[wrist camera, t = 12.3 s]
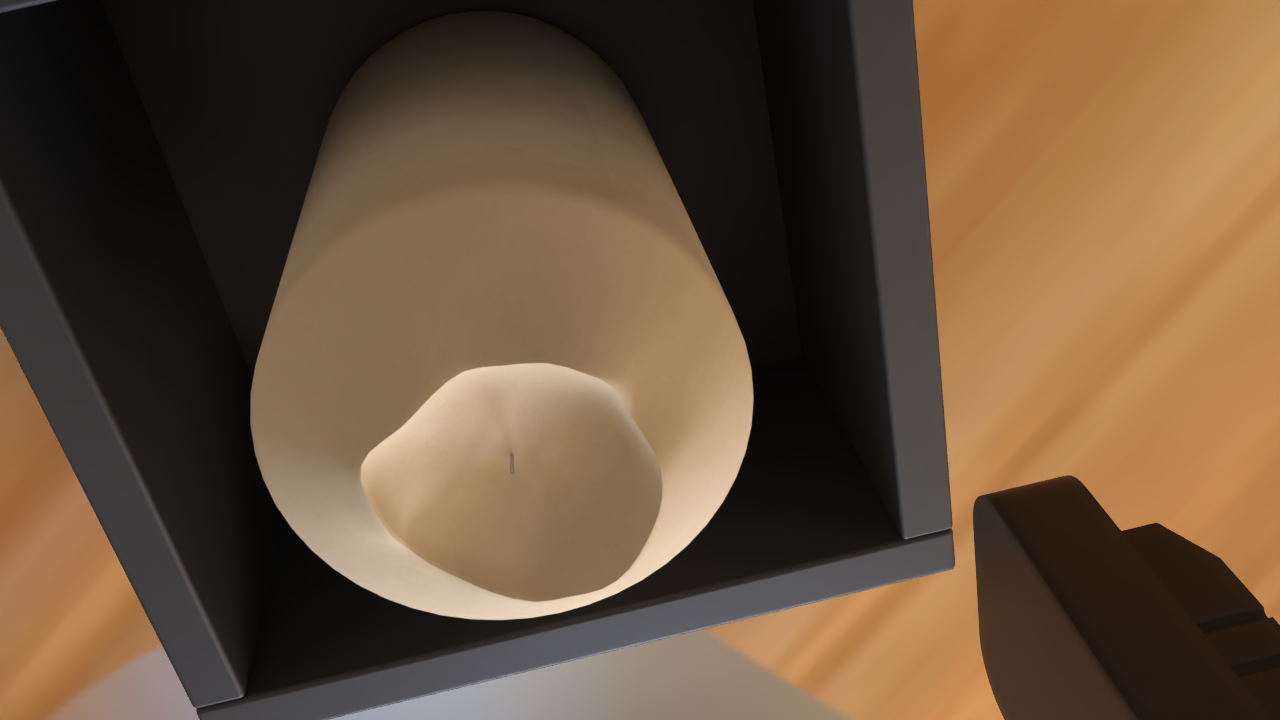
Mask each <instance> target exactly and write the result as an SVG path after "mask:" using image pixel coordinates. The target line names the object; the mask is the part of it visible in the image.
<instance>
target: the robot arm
mask: <svg viewBox="0 0 1280 720" xmlns="http://www.w3.org/2000/svg"><path fill="white" fill-rule="evenodd" d="M973 526H974V543H975V561H976V578H977V596H978V614H979V631H980V643H981V650H982V655H983V660H984V664H985V668H986V672H987V675H988V679H989V682H990V685H991V688H992V691H993V694H994V696H995V699H996V702H997V704H998V706H999V709H1000V711H1001V713H1002V715H1003V717H1004V719H1005V720H1280V625H1279V624H1278V623H1277V621H1276V620H1275V619H1274V618H1273V617H1272V618H1267V616H1266V614H1265V612H1264V607H1263V606H1262V605H1261V604H1260V602H1259V601H1258V600H1257V599H1256V598H1255V597H1254V596H1253V595H1252V593H1251V592H1250V591H1249V590H1248V589H1247V588H1246V587H1245V586H1244V584H1243V583H1242V582H1241V581H1240V580H1239V579H1238V578H1237V577H1236V576H1235V574H1234V573H1233V572H1232V571H1231V570H1230V569H1229V568H1228V567H1227V565H1226V564H1225V563H1224V562H1223V561H1222V560H1221V559H1220V558H1219V557H1217V556H1215V555H1213V554H1212V553H1210V552H1208V551H1206V550H1205V549H1203V548H1201V547H1199V546H1197V545H1196V544H1194V543H1192V542H1190V541H1189V540H1187V539H1185V538H1183V537H1181V536H1180V535H1178V534H1176V533H1174V532H1173V531H1171V530H1169V529H1167V528H1165V527H1164V526H1162V525H1160V524H1158V523H1153V524H1149V525H1145V526H1141V527H1137V528H1132V529H1128V530H1124V531H1121V530H1120V529H1119V528H1118V527H1117V525H1116V524H1115V523H1114V522H1113V520H1112V519H1111V518H1110V517H1109V515H1108V514H1107V513H1106V512H1105V510H1104V509H1103V508H1102V507H1101V506H1100V504H1099V503H1098V502H1097V501H1096V499H1095V498H1094V497H1093V496H1092V494H1091V493H1090V492H1089V491H1088V489H1087V488H1086V487H1085V486H1084V485H1083V484H1082V483H1081V481H1079V480H1078V479H1077V478H1075V477H1073V476H1071V475H1069V476H1062V477H1058V478H1054V479H1050V480H1045V481H1041V482H1037V483H1033V484H1028V485H1024V486H1020V487H1016V488H1011V489H1007V490H1003V491H999V492H995V493H990V494H986V495H982V496H979V497H978V498H977V499H976V501H975V504H974V510H973Z"/></svg>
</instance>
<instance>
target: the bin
mask: <svg viewBox="0 0 1280 720" xmlns="http://www.w3.org/2000/svg"><path fill="white" fill-rule="evenodd" d="M468 11H499V12H507V13H515V14H519V15H523V16H527V17H531V18H535V19H538V20H540V21H543V22H545V23H548V24H550V25H553V26H555V27H557V28H559V29H561V30H563V31H564V32H566V33H568V34H570V35H571V36H573V37H575V38H577V39H579V40H580V41H581V42H583V43H584V44H585V45H586V46H588V47H589V48H590V49H592V50H593V51H594V52H596V53H597V54H598V55H599V56H600V57H601V58H602V59H603V60H604V61H605V62H606V63H607V64H608V65H609V66H610V67H611V68H612V69H613V71H614V72H615V73H616V75H617V76H618V77H619V78H620V80H621V81H622V82H623V84H624V85H625V87H626V88H627V90H628V92H629V94H630V95H631V97H632V99H633V101H634V102H635V104H636V106H637V108H638V110H639V111H640V113H641V115H642V117H643V119H644V121H645V123H646V126H647V128H648V130H649V132H650V134H651V136H652V139H653V141H654V143H655V145H656V147H657V149H658V151H659V154H660V156H661V158H662V160H663V162H664V164H665V167H666V169H667V171H668V173H669V175H670V177H671V179H672V182H673V184H674V186H675V188H676V190H677V192H678V195H679V197H680V199H681V201H682V203H683V205H684V207H685V210H686V212H687V214H688V216H689V218H690V220H691V223H692V225H693V227H694V229H695V231H696V233H697V235H698V238H699V240H700V242H701V244H702V246H703V248H704V251H705V253H706V255H707V257H708V259H709V261H710V264H711V266H712V268H713V270H714V272H715V274H716V276H717V279H718V281H719V283H720V285H721V287H722V289H723V292H724V294H725V296H726V298H727V300H728V302H729V305H730V307H731V309H732V311H733V314H734V316H735V318H736V321H737V323H738V326H739V328H740V331H741V333H742V336H743V338H744V341H745V344H746V348H747V353H748V357H749V361H750V366H751V370H752V383H753V396H754V400H753V414H752V426H751V430H750V435H749V439H748V444H747V449H746V453H745V455H744V458H743V461H742V463H741V466H740V469H739V471H738V474H737V477H736V479H735V481H734V483H733V484H732V486H731V488H730V490H729V492H728V494H727V496H726V497H725V499H724V501H723V503H722V504H721V506H720V507H719V508H718V510H717V511H716V513H715V514H714V515H713V517H712V518H711V519H710V521H709V522H708V524H707V525H706V526H705V527H704V528H703V529H702V530H701V531H700V533H699V534H698V535H697V536H696V537H695V538H694V539H693V540H692V541H691V542H690V543H689V545H688V546H686V547H685V548H684V549H683V550H682V551H681V552H679V553H678V554H677V555H676V556H675V557H674V558H672V559H671V560H670V561H669V562H668V563H667V564H665V565H664V566H662V567H661V568H659V569H658V570H656V571H655V572H653V573H652V574H650V575H649V576H647V577H646V578H645V579H643V580H641V581H639V582H638V583H636V584H634V585H632V586H630V587H628V588H626V589H624V590H622V591H621V592H619V593H617V594H614V595H612V596H609V597H607V598H604V599H602V600H599V601H597V602H594V603H592V604H589V605H586V606H583V607H579V608H575V609H572V610H568V611H565V612H561V613H556V614H551V615H545V616H539V617H534V618H524V619H510V620H479V619H465V618H458V617H450V616H443V615H438V614H434V613H430V612H426V611H422V610H418V609H413V608H410V607H408V606H405V605H402V604H399V603H397V602H394V601H391V600H388V599H386V598H383V597H381V596H379V595H377V594H375V593H373V592H371V591H369V590H367V589H365V588H363V587H361V586H359V585H357V584H356V583H354V582H353V581H351V580H350V579H348V578H347V577H345V576H344V575H342V574H341V573H339V572H337V571H336V570H334V569H333V568H332V567H331V566H330V565H328V564H327V563H326V562H325V561H324V560H322V559H321V558H320V557H319V556H318V555H317V554H315V553H314V552H313V551H312V550H311V549H310V548H309V547H308V546H307V545H306V544H305V542H304V541H303V540H302V539H301V538H300V537H299V536H298V535H297V534H296V533H295V531H294V530H293V529H292V528H291V526H290V525H289V524H288V522H287V521H286V519H285V518H284V516H283V515H282V513H281V512H280V510H279V509H278V507H277V506H276V504H275V502H274V500H273V498H272V496H271V494H270V492H269V490H268V488H267V486H266V484H265V482H264V480H263V477H262V474H261V470H260V467H259V464H258V461H257V458H256V455H255V450H254V444H253V437H252V431H251V424H250V410H251V389H252V383H253V377H254V371H255V365H256V361H257V358H258V354H259V351H260V347H261V344H262V341H263V337H264V334H265V331H266V327H267V324H268V320H269V317H270V314H271V310H272V307H273V304H274V300H275V297H276V294H277V290H278V287H279V284H280V280H281V277H282V274H283V270H284V267H285V264H286V260H287V257H288V254H289V250H290V247H291V244H292V240H293V237H294V234H295V230H296V227H297V224H298V220H299V217H300V214H301V210H302V207H303V204H304V200H305V197H306V194H307V190H308V187H309V184H310V180H311V177H312V174H313V170H314V167H315V163H316V160H317V157H318V153H319V150H320V147H321V144H322V140H323V137H324V134H325V131H326V128H327V125H328V122H329V120H330V117H331V114H332V112H333V109H334V107H335V105H336V103H337V101H338V99H339V97H340V95H341V93H342V91H343V89H344V88H345V86H346V85H347V84H348V82H349V81H350V79H351V78H352V76H353V75H354V73H355V72H356V71H357V70H358V69H359V68H360V67H361V65H362V64H363V63H364V62H365V61H366V60H367V59H368V58H369V57H370V56H371V55H372V54H373V53H375V52H376V51H377V50H378V49H379V48H381V47H382V46H383V45H384V44H386V43H387V42H388V41H390V40H391V39H393V38H394V37H396V36H398V35H399V34H401V33H403V32H404V31H406V30H407V29H409V28H412V27H414V26H416V25H419V24H421V23H423V22H425V21H428V20H431V19H434V18H438V17H441V16H445V15H448V14H454V13H461V12H468ZM0 326H1V328H2V330H3V332H4V334H5V336H6V338H7V340H8V342H9V344H10V346H11V348H12V350H13V352H14V354H15V356H16V358H17V360H18V362H19V364H20V366H21V368H22V370H23V372H24V374H25V376H26V378H27V380H28V382H29V384H30V386H31V388H32V390H33V391H34V393H35V395H36V397H37V399H38V401H39V403H40V405H41V407H42V409H43V411H44V413H45V415H46V417H47V419H48V421H49V423H50V425H51V427H52V429H53V431H54V433H55V435H56V437H57V439H58V441H59V443H60V445H61V447H62V449H63V451H64V453H65V455H66V457H67V459H68V460H69V462H70V464H71V466H72V468H73V470H74V472H75V474H76V476H77V478H78V480H79V482H80V484H81V486H82V488H83V490H84V492H85V494H86V496H87V498H88V500H89V502H90V504H91V506H92V508H93V510H94V512H95V514H96V516H97V518H98V520H99V522H100V524H101V526H102V528H103V529H104V531H105V533H106V535H107V537H108V539H109V541H110V543H111V545H112V547H113V549H114V551H115V553H116V555H117V557H118V559H119V561H120V563H121V565H122V567H123V569H124V571H125V573H126V575H127V577H128V579H129V581H130V583H131V585H132V587H133V589H134V591H135V593H136V595H137V597H138V598H139V600H140V602H141V604H142V606H143V608H144V610H145V612H146V614H147V616H148V618H149V620H150V622H151V624H152V626H153V628H154V630H155V632H156V634H157V636H158V638H159V640H160V642H161V644H162V646H163V648H164V650H165V651H166V654H167V656H168V657H169V659H170V662H171V663H172V665H173V667H174V669H175V671H176V673H177V675H178V677H179V679H180V681H181V683H182V685H183V687H184V689H185V691H186V693H187V695H188V697H189V699H190V701H191V703H192V705H193V706H194V707H195V708H197V715H198V717H199V719H200V720H328V719H332V718H336V717H340V716H344V715H348V714H353V713H357V712H361V711H365V710H370V709H374V708H378V707H382V706H386V705H390V704H394V703H399V702H403V701H407V700H411V699H415V698H419V697H423V696H428V695H432V694H436V693H440V692H444V691H449V690H453V689H457V688H461V687H465V686H469V685H474V684H477V683H482V682H486V681H490V680H494V679H498V678H503V677H507V676H511V675H515V674H519V673H523V672H527V671H531V670H536V669H540V668H544V667H548V666H553V665H556V664H561V663H565V662H569V661H573V660H577V659H582V658H585V657H589V656H594V655H598V654H602V653H607V652H611V651H615V650H619V649H623V648H627V647H632V646H636V645H640V644H644V643H648V642H652V641H656V640H661V639H664V638H669V637H673V636H677V635H681V634H686V633H690V632H694V631H698V630H702V629H706V628H710V627H715V626H719V625H723V624H727V623H731V622H735V621H740V620H744V619H748V618H752V617H756V616H760V615H765V614H769V613H773V612H777V611H781V610H785V609H789V608H794V607H798V606H802V605H806V604H810V603H814V602H819V601H823V600H827V599H831V598H835V597H839V596H844V595H848V594H852V593H856V592H860V591H864V590H868V589H873V588H877V587H881V586H885V585H889V584H893V583H898V582H902V581H906V580H910V579H914V578H918V577H923V576H927V575H931V574H935V573H939V572H943V571H947V570H951V569H953V568H954V566H955V556H954V543H953V531H952V529H951V527H952V511H951V498H950V484H949V471H948V458H947V445H946V432H945V419H944V406H943V393H942V380H941V366H940V353H939V340H938V327H937V314H936V301H935V288H934V275H933V262H932V248H931V235H930V222H929V209H928V196H927V183H926V170H925V157H924V144H923V130H922V117H921V104H920V91H919V78H918V65H917V52H916V39H915V26H914V12H913V0H0Z"/></svg>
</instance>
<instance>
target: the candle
mask: <svg viewBox="0 0 1280 720" xmlns="http://www.w3.org/2000/svg"><path fill="white" fill-rule="evenodd" d="M753 400H754V396H753V383H752V370H751V366H750V361H749V357H748V353H747V348H746V344H745V341H744V338H743V336H742V333H741V331H740V328H739V326H738V323H737V321H736V318H735V316H734V314H733V311H732V309H731V307H730V305H729V302H728V300H727V298H726V296H725V294H724V292H723V289H722V287H721V285H720V283H719V281H718V279H717V276H716V274H715V272H714V270H713V268H712V266H711V264H710V261H709V259H708V257H707V255H706V253H705V251H704V248H703V246H702V244H701V242H700V240H699V238H698V235H697V233H696V231H695V229H694V227H693V225H692V223H691V220H690V218H689V216H688V214H687V212H686V210H685V207H684V205H683V203H682V201H681V199H680V197H679V195H678V192H677V190H676V188H675V186H674V184H673V182H672V179H671V177H670V175H669V173H668V171H667V169H666V167H665V164H664V162H663V160H662V158H661V156H660V154H659V151H658V149H657V147H656V145H655V143H654V141H653V139H652V136H651V134H650V132H649V130H648V128H647V126H646V123H645V121H644V119H643V117H642V115H641V113H640V111H639V110H638V108H637V106H636V104H635V102H634V101H633V99H632V97H631V95H630V94H629V92H628V90H627V88H626V87H625V85H624V84H623V82H622V81H621V80H620V78H619V77H618V76H617V75H616V73H615V72H614V71H613V69H612V68H611V67H610V66H609V65H608V64H607V63H606V62H605V61H604V60H603V59H602V58H601V57H600V56H599V55H598V54H597V53H596V52H594V51H593V50H592V49H590V48H589V47H588V46H586V45H585V44H584V43H583V42H581V41H580V40H579V39H577V38H575V37H573V36H571V35H570V34H568V33H566V32H564V31H563V30H561V29H559V28H557V27H555V26H553V25H550V24H548V23H545V22H543V21H540V20H538V19H535V18H531V17H527V16H523V15H519V14H515V13H507V12H499V11H468V12H461V13H454V14H448V15H445V16H441V17H438V18H434V19H431V20H428V21H425V22H423V23H421V24H419V25H416V26H414V27H412V28H409V29H407V30H406V31H404V32H403V33H401V34H399V35H398V36H396V37H394V38H393V39H391V40H390V41H388V42H387V43H386V44H384V45H383V46H382V47H381V48H379V49H378V50H377V51H376V52H375V53H373V54H372V55H371V56H370V57H369V58H368V59H367V60H366V61H365V62H364V63H363V64H362V65H361V67H360V68H359V69H358V70H357V71H356V72H355V73H354V75H353V76H352V78H351V79H350V81H349V82H348V84H347V85H346V86H345V88H344V89H343V91H342V93H341V95H340V97H339V99H338V101H337V103H336V105H335V107H334V109H333V112H332V114H331V117H330V120H329V122H328V125H327V128H326V131H325V134H324V137H323V140H322V144H321V147H320V150H319V153H318V157H317V160H316V163H315V167H314V170H313V174H312V177H311V180H310V184H309V187H308V190H307V194H306V197H305V200H304V204H303V207H302V210H301V214H300V217H299V220H298V224H297V227H296V230H295V234H294V237H293V240H292V244H291V247H290V250H289V254H288V257H287V260H286V264H285V267H284V270H283V274H282V277H281V280H280V284H279V287H278V290H277V294H276V297H275V300H274V304H273V307H272V310H271V314H270V317H269V320H268V324H267V327H266V331H265V334H264V337H263V341H262V344H261V347H260V351H259V354H258V358H257V361H256V365H255V371H254V377H253V383H252V389H251V410H250V424H251V431H252V437H253V444H254V450H255V455H256V458H257V461H258V464H259V467H260V470H261V474H262V477H263V480H264V482H265V484H266V486H267V488H268V490H269V492H270V494H271V496H272V498H273V500H274V502H275V504H276V506H277V507H278V509H279V510H280V512H281V513H282V515H283V516H284V518H285V519H286V521H287V522H288V524H289V525H290V526H291V528H292V529H293V530H294V531H295V533H296V534H297V535H298V536H299V537H300V538H301V539H302V540H303V541H304V542H305V544H306V545H307V546H308V547H309V548H310V549H311V550H312V551H313V552H314V553H315V554H317V555H318V556H319V557H320V558H321V559H322V560H324V561H325V562H326V563H327V564H328V565H330V566H331V567H332V568H333V569H334V570H336V571H337V572H339V573H341V574H342V575H344V576H345V577H347V578H348V579H350V580H351V581H353V582H354V583H356V584H357V585H359V586H361V587H363V588H365V589H367V590H369V591H371V592H373V593H375V594H377V595H379V596H381V597H383V598H386V599H388V600H391V601H394V602H397V603H399V604H402V605H405V606H408V607H410V608H413V609H418V610H422V611H426V612H430V613H434V614H438V615H443V616H450V617H458V618H465V619H479V620H510V619H524V618H534V617H539V616H545V615H551V614H556V613H561V612H565V611H568V610H572V609H575V608H579V607H583V606H586V605H589V604H592V603H594V602H597V601H599V600H602V599H604V598H607V597H609V596H612V595H614V594H617V593H619V592H621V591H622V590H624V589H626V588H628V587H630V586H632V585H634V584H636V583H638V582H639V581H641V580H643V579H645V578H646V577H647V576H649V575H650V574H652V573H653V572H655V571H656V570H658V569H659V568H661V567H662V566H664V565H665V564H667V563H668V562H669V561H670V560H671V559H672V558H674V557H675V556H676V555H677V554H678V553H679V552H681V551H682V550H683V549H684V548H685V547H686V546H688V545H689V543H690V542H691V541H692V540H693V539H694V538H695V537H696V536H697V535H698V534H699V533H700V531H701V530H702V529H703V528H704V527H705V526H706V525H707V524H708V522H709V521H710V519H711V518H712V517H713V515H714V514H715V513H716V511H717V510H718V508H719V507H720V506H721V504H722V503H723V501H724V499H725V497H726V496H727V494H728V492H729V490H730V488H731V486H732V484H733V483H734V481H735V479H736V477H737V474H738V471H739V469H740V466H741V463H742V461H743V458H744V455H745V453H746V449H747V444H748V439H749V435H750V430H751V426H752V414H753Z"/></svg>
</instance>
